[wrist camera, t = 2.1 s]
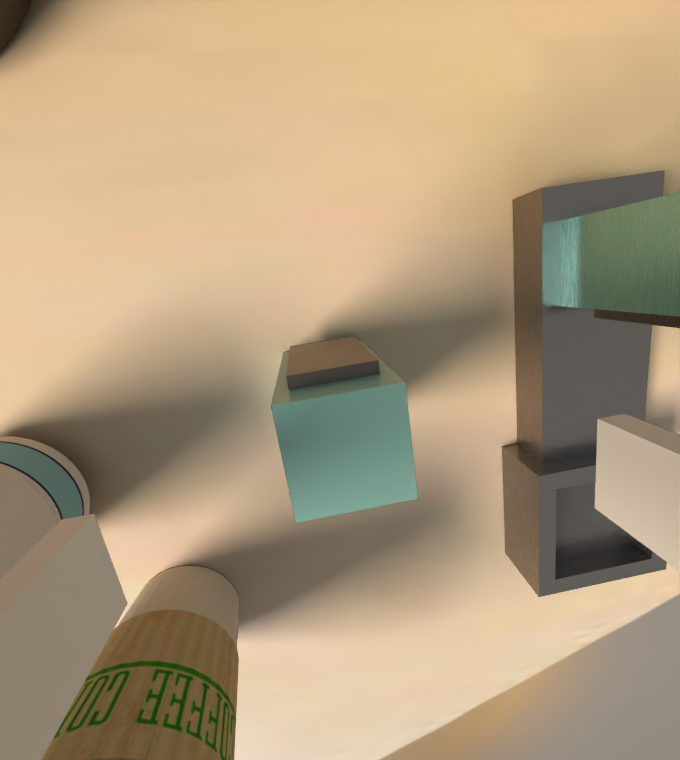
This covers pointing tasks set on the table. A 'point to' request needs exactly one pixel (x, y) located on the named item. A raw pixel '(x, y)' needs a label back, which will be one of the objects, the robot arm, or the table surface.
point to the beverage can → (35, 495)
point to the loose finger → (342, 429)
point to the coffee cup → (162, 677)
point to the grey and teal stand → (583, 366)
